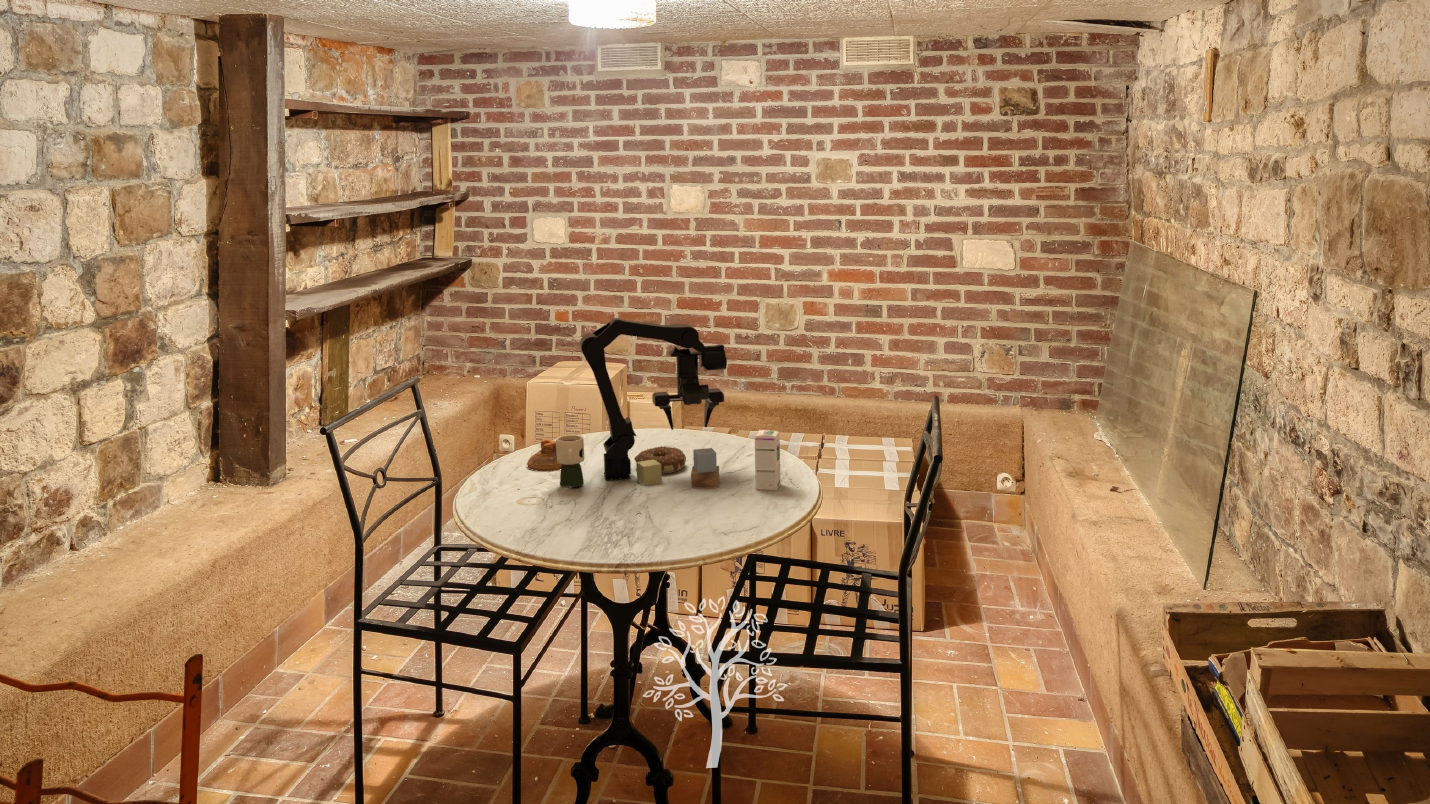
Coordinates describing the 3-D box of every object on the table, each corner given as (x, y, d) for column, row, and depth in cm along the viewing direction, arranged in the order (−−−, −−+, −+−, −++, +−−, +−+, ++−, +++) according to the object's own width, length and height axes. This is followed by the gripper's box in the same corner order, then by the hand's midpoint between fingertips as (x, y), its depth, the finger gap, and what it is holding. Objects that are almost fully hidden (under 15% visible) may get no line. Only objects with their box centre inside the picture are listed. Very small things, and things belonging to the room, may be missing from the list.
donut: (689, 461, 284) (688, 444, 283) (682, 476, 271) (682, 458, 270) (639, 461, 286) (638, 444, 284) (630, 475, 272) (629, 457, 271)
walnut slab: (691, 488, 261) (690, 473, 260) (692, 480, 268) (692, 465, 267) (718, 488, 260) (718, 473, 260) (719, 480, 267) (719, 465, 266)
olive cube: (644, 485, 264) (643, 466, 263) (637, 480, 268) (636, 462, 267) (661, 482, 266) (661, 464, 265) (654, 477, 270) (653, 459, 269)
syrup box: (777, 490, 257) (777, 435, 254) (754, 489, 258) (754, 435, 255) (780, 484, 262) (780, 430, 259) (758, 482, 263) (757, 429, 260)
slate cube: (697, 473, 260) (697, 454, 259) (693, 467, 265) (693, 449, 264) (716, 471, 261) (716, 453, 260) (712, 466, 266) (711, 447, 265)
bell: (566, 472, 277) (565, 446, 275) (523, 472, 277) (521, 447, 275) (573, 460, 288) (572, 435, 286) (531, 460, 288) (530, 436, 287)
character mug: (586, 491, 259) (584, 442, 256) (558, 493, 258) (555, 444, 255) (585, 479, 269) (582, 432, 266) (558, 480, 268) (555, 433, 265)
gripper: (657, 379, 259) (659, 438, 263) (728, 375, 263) (729, 433, 266) (651, 371, 270) (653, 427, 273) (719, 367, 273) (720, 423, 277)
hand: (688, 428), depth 272 cm, fingers open, 9 cm apart
